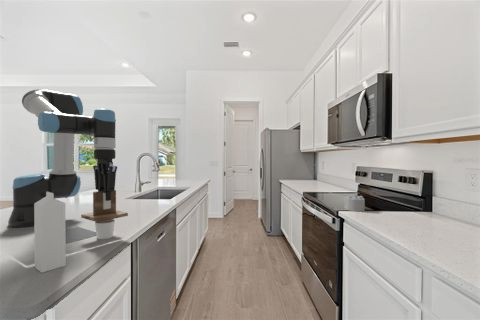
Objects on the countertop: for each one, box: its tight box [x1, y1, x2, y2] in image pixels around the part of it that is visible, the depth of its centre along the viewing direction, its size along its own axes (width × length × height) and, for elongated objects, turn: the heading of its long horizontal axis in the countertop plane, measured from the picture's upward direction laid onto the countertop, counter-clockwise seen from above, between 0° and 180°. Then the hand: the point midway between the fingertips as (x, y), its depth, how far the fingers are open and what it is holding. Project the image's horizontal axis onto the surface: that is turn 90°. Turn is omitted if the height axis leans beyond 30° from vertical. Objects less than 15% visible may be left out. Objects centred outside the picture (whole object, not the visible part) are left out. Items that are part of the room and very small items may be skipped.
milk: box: [33, 192, 67, 273], centre depth 75 cm, size 6×6×22 cm
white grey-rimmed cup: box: [94, 219, 115, 240], centre depth 101 cm, size 7×7×7 cm
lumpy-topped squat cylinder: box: [344, 194, 366, 213], centre depth 159 cm, size 10×13×9 cm
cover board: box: [80, 189, 129, 223], centre depth 100 cm, size 12×12×10 cm
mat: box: [65, 226, 97, 245], centre depth 103 cm, size 20×14×1 cm
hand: (104, 208), depth 101 cm, fingers closed on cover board, 2 cm apart
